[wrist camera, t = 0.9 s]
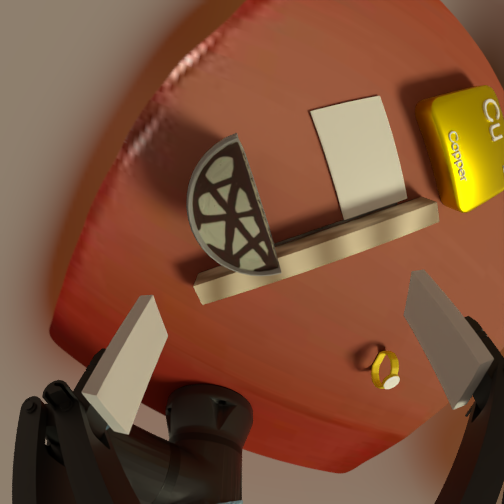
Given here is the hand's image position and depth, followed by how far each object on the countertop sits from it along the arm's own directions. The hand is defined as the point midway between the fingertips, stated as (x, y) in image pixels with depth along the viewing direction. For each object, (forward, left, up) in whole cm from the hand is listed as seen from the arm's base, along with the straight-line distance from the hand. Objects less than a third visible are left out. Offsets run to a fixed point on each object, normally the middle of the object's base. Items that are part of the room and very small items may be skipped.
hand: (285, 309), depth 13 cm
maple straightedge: (+5, -5, -19) cm, 21 cm away
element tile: (+30, +1, -20) cm, 36 cm away
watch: (+10, -28, -20) cm, 35 cm away
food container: (-3, +3, -20) cm, 20 cm away
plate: (+13, +3, -19) cm, 24 cm away
